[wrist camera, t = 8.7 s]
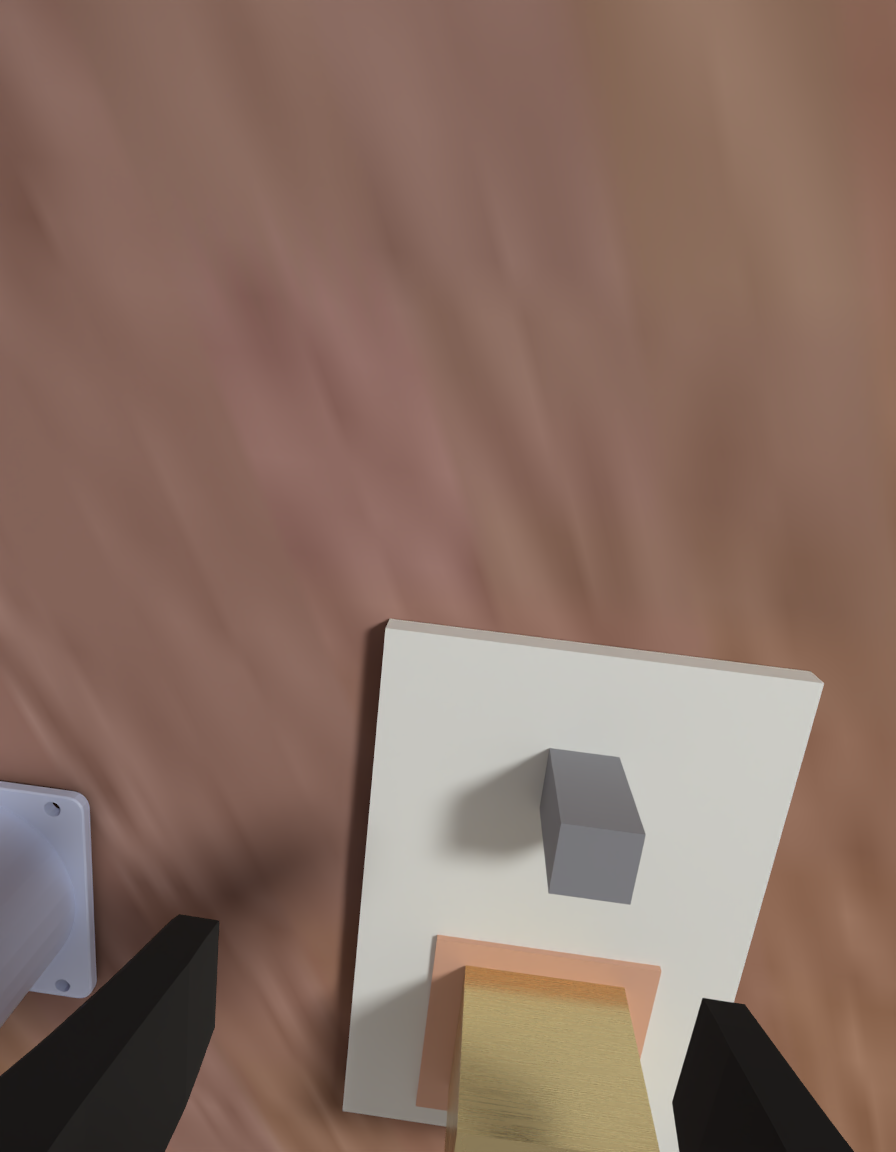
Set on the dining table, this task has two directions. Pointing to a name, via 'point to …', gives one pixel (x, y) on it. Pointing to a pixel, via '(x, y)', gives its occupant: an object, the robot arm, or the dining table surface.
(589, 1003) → the sleeve
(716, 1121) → the robot arm
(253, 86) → the dining table surface
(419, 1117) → the board
